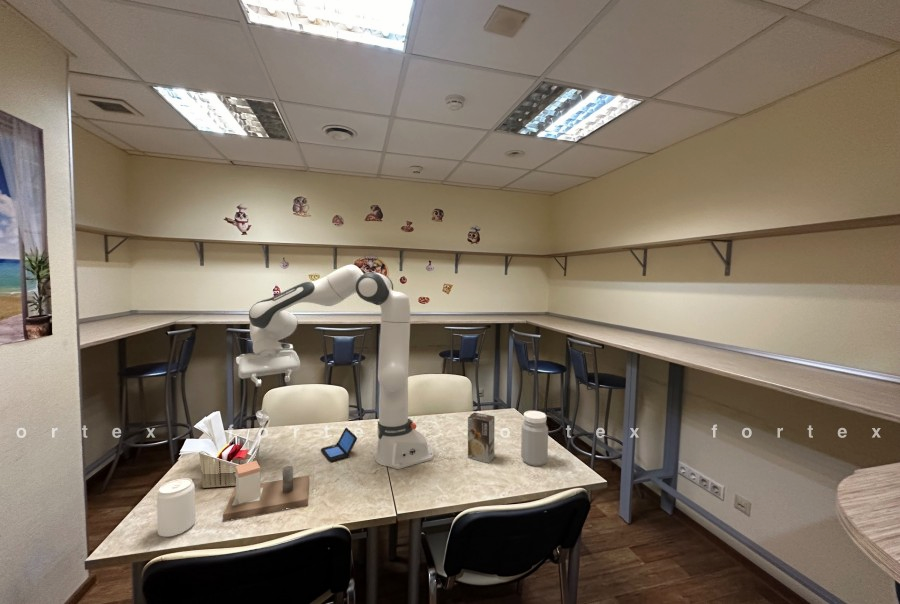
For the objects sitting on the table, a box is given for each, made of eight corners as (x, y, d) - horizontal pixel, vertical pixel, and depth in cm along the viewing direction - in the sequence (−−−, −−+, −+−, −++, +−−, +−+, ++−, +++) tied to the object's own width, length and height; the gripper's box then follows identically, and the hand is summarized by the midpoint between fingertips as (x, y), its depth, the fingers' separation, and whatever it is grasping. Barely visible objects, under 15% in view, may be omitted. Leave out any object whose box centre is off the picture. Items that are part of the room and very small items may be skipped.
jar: (548, 468, 128) (549, 420, 127) (521, 465, 130) (521, 417, 129) (546, 455, 138) (547, 410, 137) (521, 453, 140) (521, 408, 139)
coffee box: (495, 456, 137) (495, 416, 136) (489, 463, 131) (489, 421, 131) (473, 451, 141) (474, 411, 141) (466, 458, 136) (467, 417, 135)
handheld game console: (320, 451, 141) (319, 433, 141) (346, 444, 148) (346, 426, 147) (329, 464, 131) (329, 444, 131) (357, 456, 137) (357, 437, 137)
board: (309, 480, 119) (309, 455, 119) (307, 505, 106) (307, 476, 106) (234, 493, 112) (234, 465, 111) (223, 521, 99) (222, 490, 98)
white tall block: (256, 488, 111) (256, 460, 110) (260, 496, 106) (260, 467, 106) (236, 494, 107) (235, 466, 107) (239, 503, 103) (238, 473, 102)
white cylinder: (151, 541, 91) (149, 496, 90) (167, 521, 99) (165, 479, 98) (187, 535, 93) (186, 491, 92) (200, 516, 101) (199, 475, 100)
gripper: (235, 349, 124) (241, 383, 117) (296, 344, 137) (304, 374, 130) (234, 360, 128) (239, 393, 121) (293, 353, 141) (301, 383, 133)
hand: (273, 383), depth 125 cm, fingers open, 8 cm apart
